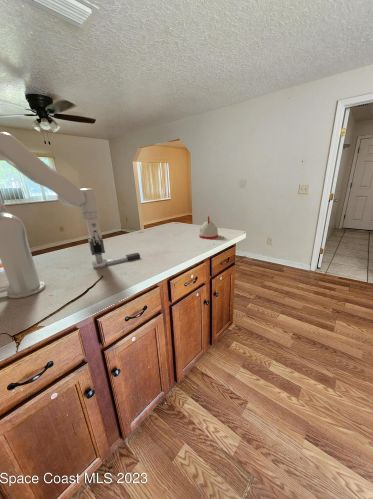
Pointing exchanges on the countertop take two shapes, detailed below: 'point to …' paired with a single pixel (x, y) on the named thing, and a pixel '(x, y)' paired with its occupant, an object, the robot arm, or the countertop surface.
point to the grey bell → (208, 230)
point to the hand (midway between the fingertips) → (97, 250)
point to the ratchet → (112, 260)
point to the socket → (93, 246)
